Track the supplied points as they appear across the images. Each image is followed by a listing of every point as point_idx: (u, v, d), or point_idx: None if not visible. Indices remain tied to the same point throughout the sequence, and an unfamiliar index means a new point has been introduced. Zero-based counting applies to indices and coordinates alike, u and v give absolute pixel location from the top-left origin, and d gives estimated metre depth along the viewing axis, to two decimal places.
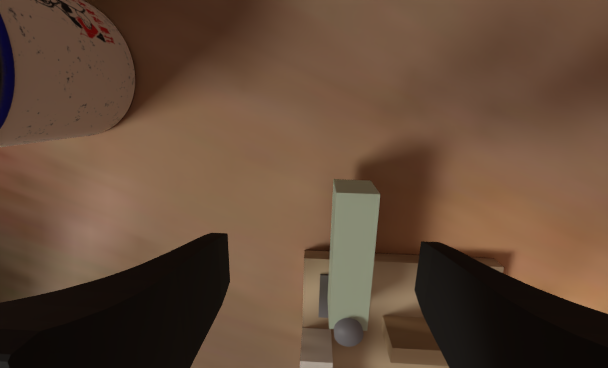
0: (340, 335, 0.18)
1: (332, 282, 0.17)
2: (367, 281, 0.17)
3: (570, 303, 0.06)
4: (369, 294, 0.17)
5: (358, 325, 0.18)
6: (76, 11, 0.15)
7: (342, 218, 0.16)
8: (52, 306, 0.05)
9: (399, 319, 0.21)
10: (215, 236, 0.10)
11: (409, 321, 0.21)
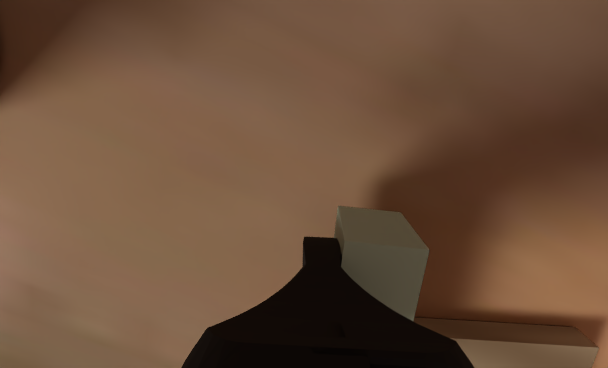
0: None
1: None
2: None
3: (362, 293, 0.06)
4: None
5: None
6: None
7: None
8: (298, 319, 0.05)
9: None
10: (333, 241, 0.10)
11: None
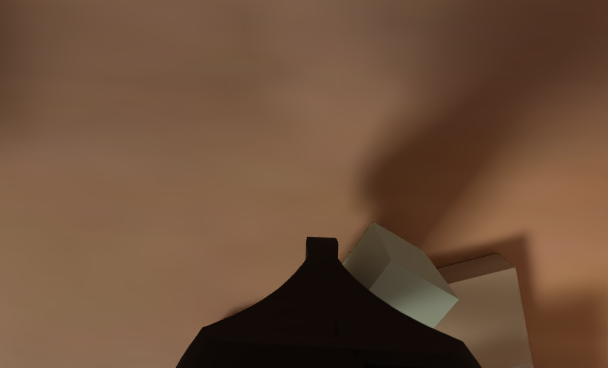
0: None
1: None
2: None
3: (366, 293, 0.06)
4: None
5: None
6: None
7: None
8: (293, 319, 0.05)
9: None
10: (331, 241, 0.10)
11: None
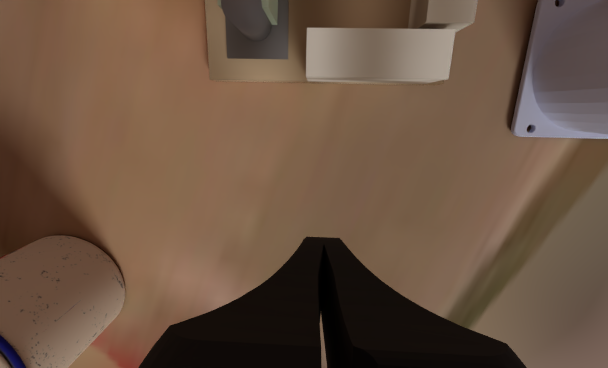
0: (229, 5, 0.13)
1: None
2: None
3: (394, 294, 0.06)
4: None
5: None
6: None
7: None
8: (264, 317, 0.05)
9: None
10: (317, 240, 0.10)
11: None
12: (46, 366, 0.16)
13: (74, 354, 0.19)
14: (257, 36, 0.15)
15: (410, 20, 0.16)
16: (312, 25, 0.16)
